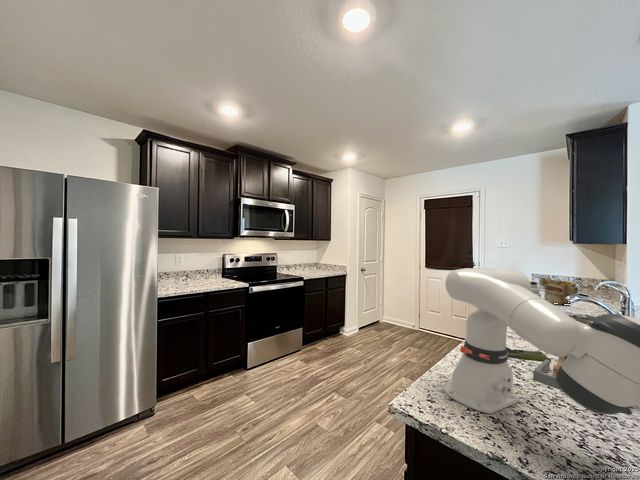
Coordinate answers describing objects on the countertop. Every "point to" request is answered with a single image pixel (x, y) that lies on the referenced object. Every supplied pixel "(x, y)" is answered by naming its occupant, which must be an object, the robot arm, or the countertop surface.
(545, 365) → the grey u-shaped frame
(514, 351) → the gun
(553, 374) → the offcut left
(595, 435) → the countertop surface
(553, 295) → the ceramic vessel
